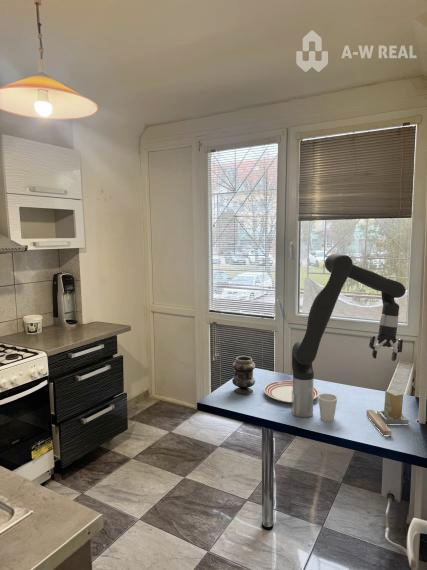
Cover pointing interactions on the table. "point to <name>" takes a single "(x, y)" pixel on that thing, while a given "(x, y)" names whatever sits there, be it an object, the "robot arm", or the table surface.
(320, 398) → the dixie cup
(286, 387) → the dinner plate
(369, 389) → the table surface
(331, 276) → the robot arm
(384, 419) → the tray
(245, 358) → the dark carved vase
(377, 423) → the sill
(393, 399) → the skincare box
